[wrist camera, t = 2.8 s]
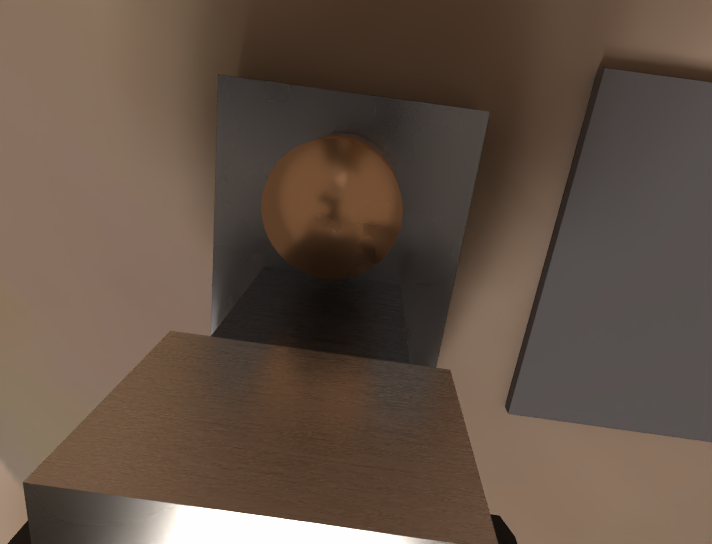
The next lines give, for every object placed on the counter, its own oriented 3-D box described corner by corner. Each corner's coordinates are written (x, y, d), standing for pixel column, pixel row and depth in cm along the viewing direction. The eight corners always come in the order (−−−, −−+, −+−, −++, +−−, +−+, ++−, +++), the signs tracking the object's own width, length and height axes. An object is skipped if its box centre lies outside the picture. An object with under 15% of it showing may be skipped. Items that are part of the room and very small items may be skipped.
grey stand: (235, 78, 13) (12, 22, 5) (478, 111, 13) (631, 106, 5) (215, 581, 20) (101, 902, 12) (378, 604, 20) (376, 942, 12)
